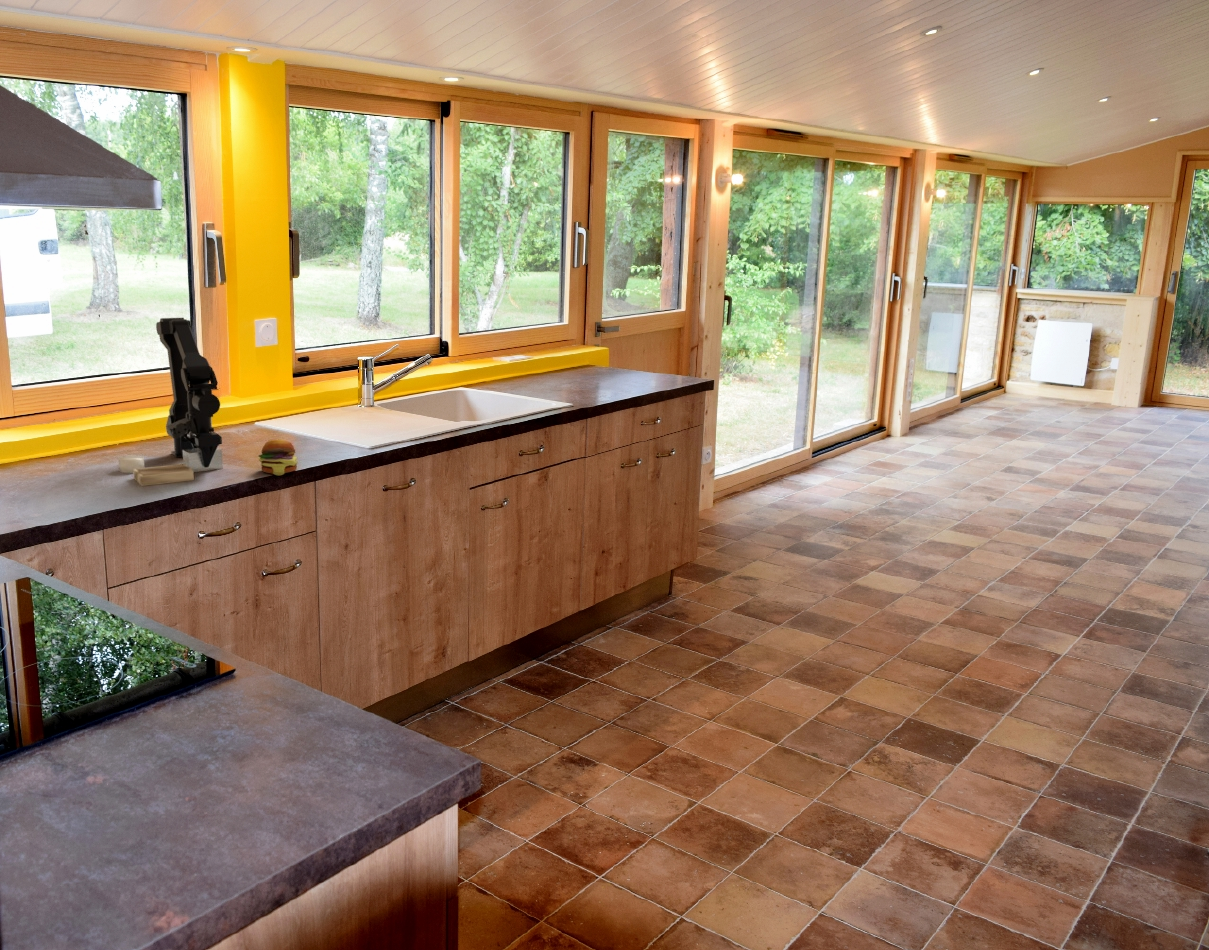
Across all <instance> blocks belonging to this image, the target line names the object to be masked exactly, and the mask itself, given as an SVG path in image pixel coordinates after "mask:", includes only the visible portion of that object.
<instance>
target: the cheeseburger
mask: <svg viewBox="0 0 1209 950" xmlns="http://www.w3.org/2000/svg"><path fill="white" fill-rule="evenodd" d="M295 454H296V449H295V446H294V445H293V443H292V442H290V441H287V440H284V439H280V438H275V439H270V440H268V441H266V442H265V443H264V445H263V447H262V449H261V454H258V457H259V462H260V465H261V466H260V468H261V471H262V472H263V473H267V474H273V475H275V476H283V475H285V474H286V473H287V474H288V473H291V472H294V471H296V470H297V467H298V466H297V464H298V458H297V455H295Z"/></svg>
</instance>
